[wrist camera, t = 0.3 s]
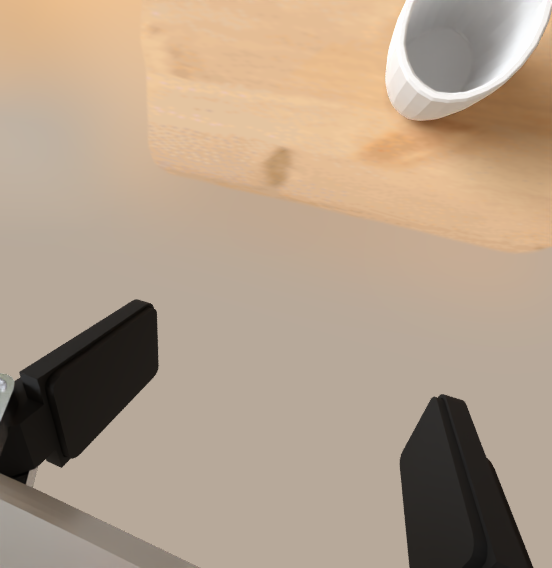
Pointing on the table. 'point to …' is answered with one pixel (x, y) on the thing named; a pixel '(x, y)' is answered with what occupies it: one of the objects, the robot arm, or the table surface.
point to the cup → (459, 52)
